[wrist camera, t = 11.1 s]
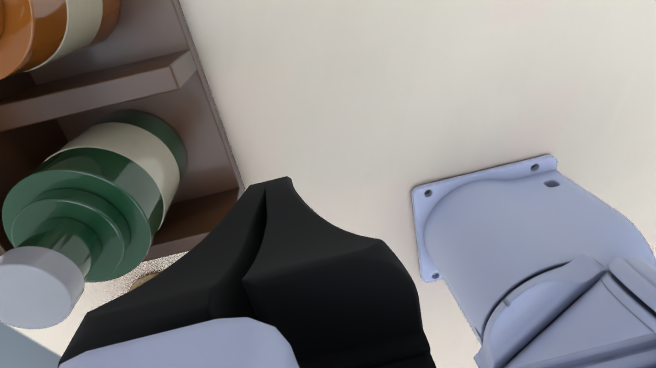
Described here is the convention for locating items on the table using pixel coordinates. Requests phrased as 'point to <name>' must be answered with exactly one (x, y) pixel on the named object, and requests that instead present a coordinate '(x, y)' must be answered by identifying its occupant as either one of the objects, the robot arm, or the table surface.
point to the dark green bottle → (86, 215)
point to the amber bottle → (51, 31)
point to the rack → (127, 94)
